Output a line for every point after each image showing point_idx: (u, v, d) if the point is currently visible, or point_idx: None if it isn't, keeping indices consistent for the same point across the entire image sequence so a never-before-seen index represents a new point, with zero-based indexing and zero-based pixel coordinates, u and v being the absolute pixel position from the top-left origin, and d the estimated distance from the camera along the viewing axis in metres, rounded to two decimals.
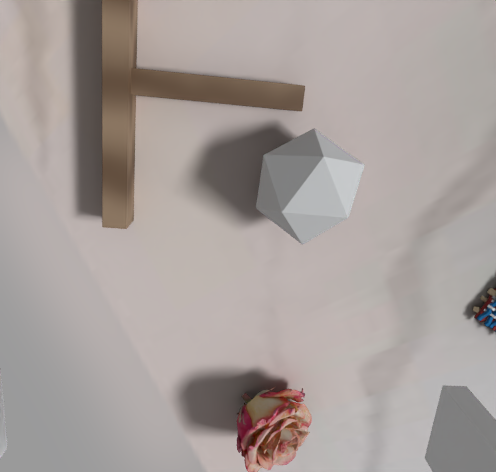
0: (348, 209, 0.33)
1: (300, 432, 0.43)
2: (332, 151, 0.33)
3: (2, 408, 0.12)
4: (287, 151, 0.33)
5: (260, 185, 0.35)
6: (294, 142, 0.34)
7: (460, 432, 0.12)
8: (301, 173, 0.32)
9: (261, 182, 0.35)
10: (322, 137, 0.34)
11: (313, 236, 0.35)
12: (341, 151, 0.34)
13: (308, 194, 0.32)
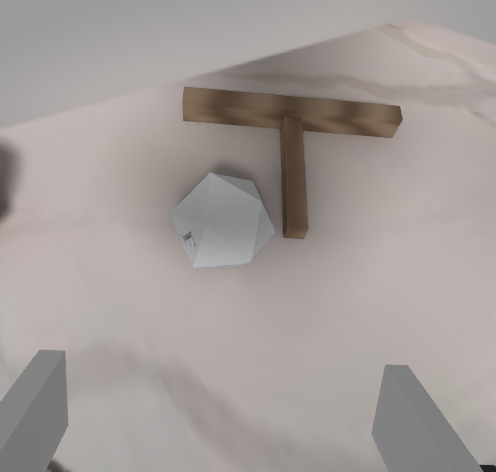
0: (213, 228, 0.33)
1: None
2: (262, 224, 0.36)
3: (65, 388, 0.13)
4: None
5: None
6: None
7: (397, 406, 0.13)
8: (245, 189, 0.36)
9: None
10: (270, 230, 0.38)
11: (180, 215, 0.36)
12: (261, 241, 0.36)
13: (227, 191, 0.35)
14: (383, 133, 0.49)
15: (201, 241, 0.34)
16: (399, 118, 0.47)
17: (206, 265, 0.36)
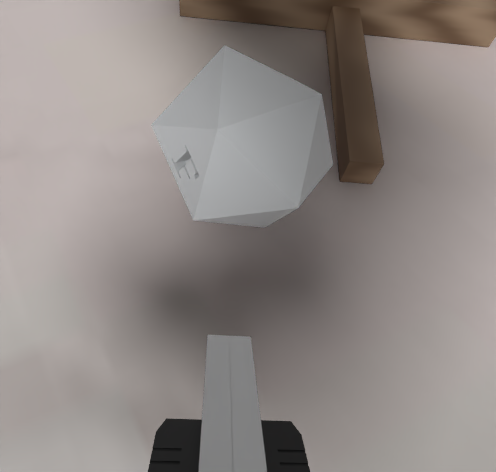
0: (231, 136, 0.18)
1: None
2: (319, 140, 0.20)
3: None
4: None
5: None
6: None
7: None
8: None
9: None
10: (327, 159, 0.22)
11: (170, 122, 0.20)
12: (314, 172, 0.20)
13: (256, 76, 0.19)
14: (477, 38, 0.33)
15: (208, 165, 0.18)
16: None
17: (217, 214, 0.20)
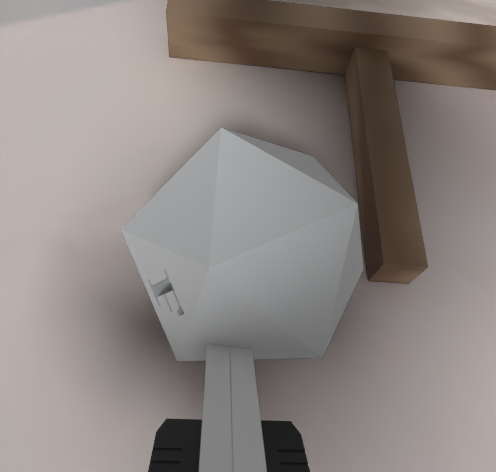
0: (229, 275, 0.12)
1: None
2: (350, 259, 0.14)
3: None
4: None
5: None
6: None
7: None
8: (308, 171, 0.14)
9: None
10: (358, 270, 0.16)
11: (145, 234, 0.14)
12: (343, 299, 0.15)
13: (265, 175, 0.13)
14: None
15: (196, 306, 0.13)
16: None
17: None
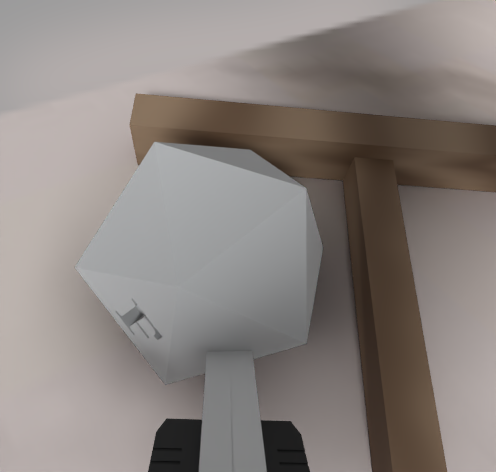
0: (200, 288, 0.12)
1: None
2: (311, 242, 0.15)
3: None
4: None
5: None
6: None
7: None
8: (251, 167, 0.14)
9: None
10: (319, 250, 0.17)
11: (101, 266, 0.14)
12: (312, 282, 0.15)
13: (211, 181, 0.13)
14: None
15: (173, 327, 0.13)
16: None
17: (198, 372, 0.14)
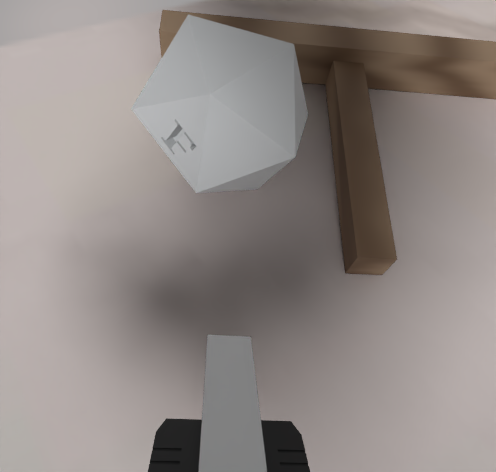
0: (224, 98, 0.18)
1: None
2: (298, 90, 0.21)
3: None
4: None
5: None
6: None
7: None
8: None
9: None
10: (304, 109, 0.23)
11: (153, 101, 0.20)
12: (299, 122, 0.21)
13: (228, 38, 0.19)
14: (493, 91, 0.30)
15: (205, 133, 0.19)
16: None
17: (219, 181, 0.21)
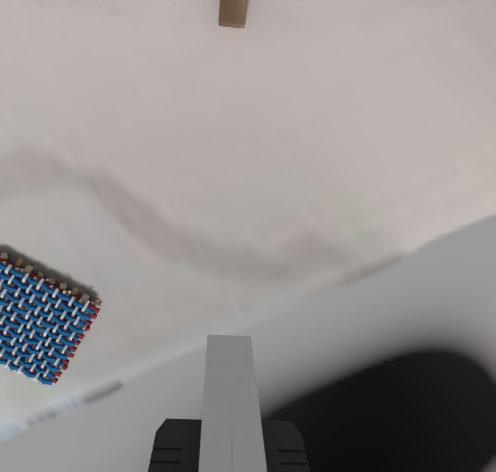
0: None
1: None
2: None
3: None
4: None
5: None
6: None
7: None
8: None
9: None
10: None
11: None
12: None
13: None
14: None
15: None
16: None
17: None
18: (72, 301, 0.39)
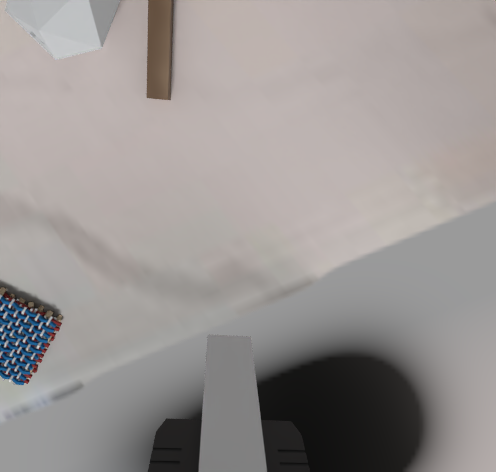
0: (47, 30, 0.34)
1: None
2: (98, 4, 0.35)
3: None
4: None
5: None
6: None
7: None
8: None
9: None
10: (113, 1, 0.37)
11: (14, 13, 0.35)
12: (105, 21, 0.36)
13: None
14: None
15: (45, 41, 0.36)
16: None
17: (65, 56, 0.38)
18: (38, 317, 0.48)
